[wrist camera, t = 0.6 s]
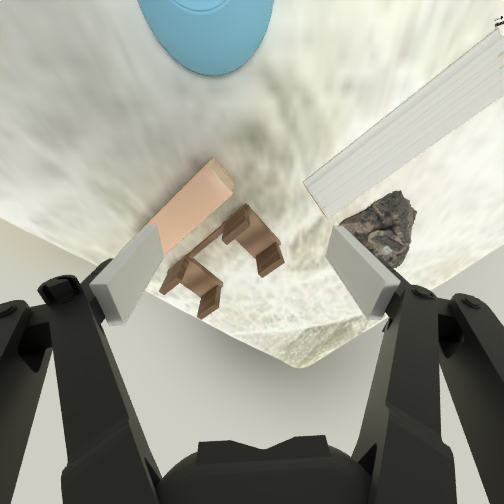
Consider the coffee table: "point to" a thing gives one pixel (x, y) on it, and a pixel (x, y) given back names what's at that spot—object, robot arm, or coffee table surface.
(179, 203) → the peach rectangular block
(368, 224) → the dark grey rock
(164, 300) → the coffee table surface
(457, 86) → the baseboard
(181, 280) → the rack
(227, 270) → the coffee table surface
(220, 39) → the sugar bowl
